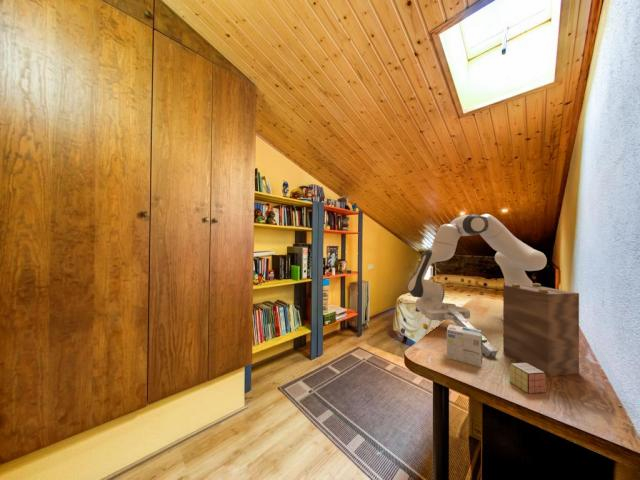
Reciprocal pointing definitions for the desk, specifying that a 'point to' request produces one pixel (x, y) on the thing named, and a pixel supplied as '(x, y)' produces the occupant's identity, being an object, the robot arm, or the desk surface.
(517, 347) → the plinth
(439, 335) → the desk surface
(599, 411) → the desk surface
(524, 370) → the puzzle toy
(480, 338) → the light bulb box
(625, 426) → the desk surface
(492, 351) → the sighting bar
